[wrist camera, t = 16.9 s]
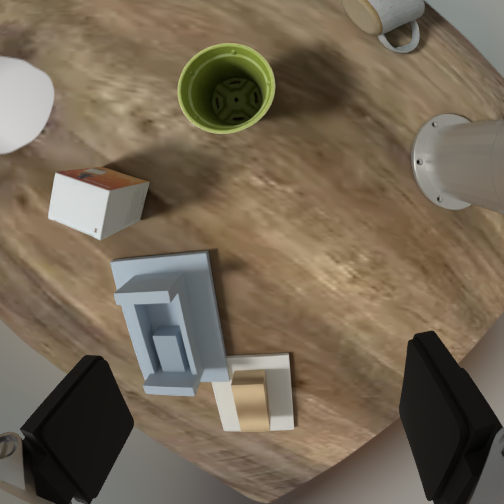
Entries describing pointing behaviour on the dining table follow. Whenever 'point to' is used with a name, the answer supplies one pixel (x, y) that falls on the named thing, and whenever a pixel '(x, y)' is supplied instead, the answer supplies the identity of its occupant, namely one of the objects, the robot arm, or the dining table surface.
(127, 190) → the small box
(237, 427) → the mat
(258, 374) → the oak block
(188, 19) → the dining table surface
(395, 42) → the dining table surface
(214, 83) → the plant pot
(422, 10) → the ceramic mug
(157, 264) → the jig
